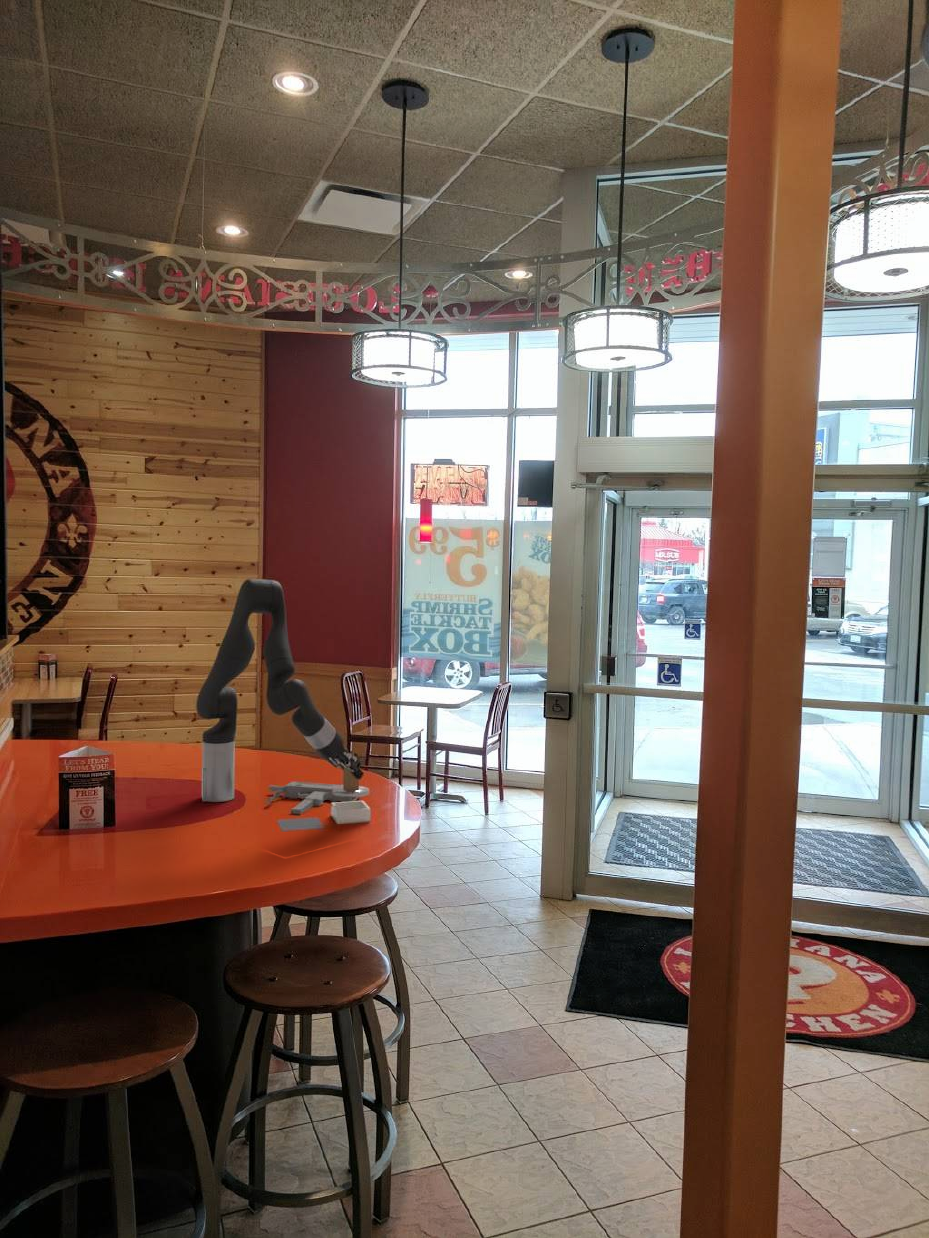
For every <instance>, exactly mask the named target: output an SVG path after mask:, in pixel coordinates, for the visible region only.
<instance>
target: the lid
mask: <svg viewBox="0 0 929 1238" xmlns="http://www.w3.org/2000/svg"><path fill="white" fill-rule="evenodd" d="M345 764H346V763H345ZM350 766H351V764H350ZM351 767H352V766H351ZM342 771H343V776H342V779H343V781H342V785H343V786H340V787H336V788H334V789H333V795H335V796H338V797H346V798H353V799H355V798H356V797H359V798H362V797H367V796H368V795H370V788H369V787H366V786H361V785H360V780H359V779H357V778H356V777H355V775H354V774H353V773H352V772H351V771H350V770H349V769H348V768H344V767H343V770H342Z"/></svg>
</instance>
